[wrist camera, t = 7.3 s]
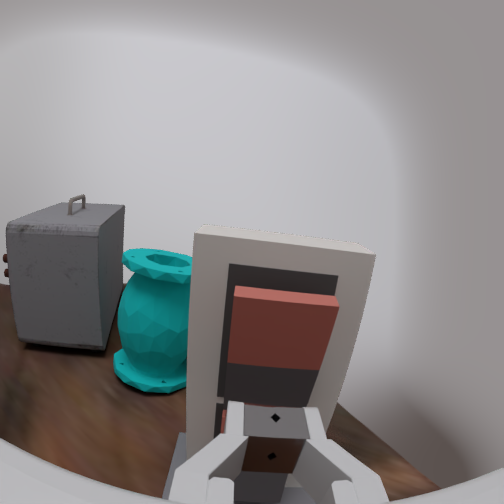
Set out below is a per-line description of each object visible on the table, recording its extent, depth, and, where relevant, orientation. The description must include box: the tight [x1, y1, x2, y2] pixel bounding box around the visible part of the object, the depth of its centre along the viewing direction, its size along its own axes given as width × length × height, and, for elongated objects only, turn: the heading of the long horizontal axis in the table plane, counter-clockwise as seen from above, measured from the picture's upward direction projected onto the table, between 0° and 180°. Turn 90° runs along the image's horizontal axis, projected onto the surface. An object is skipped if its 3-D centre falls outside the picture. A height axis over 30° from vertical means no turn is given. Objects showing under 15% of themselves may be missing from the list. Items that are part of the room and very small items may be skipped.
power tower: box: [162, 224, 376, 504], centre depth 24 cm, size 12×16×27 cm
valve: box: [113, 248, 192, 393], centre depth 49 cm, size 14×18×30 cm
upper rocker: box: [223, 286, 340, 410], centre depth 20 cm, size 1×6×10 cm, turn 89°
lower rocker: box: [221, 410, 288, 503], centre depth 22 cm, size 1×6×10 cm, turn 90°
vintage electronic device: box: [3, 194, 125, 353], centre depth 56 cm, size 32×18×25 cm, turn 16°
